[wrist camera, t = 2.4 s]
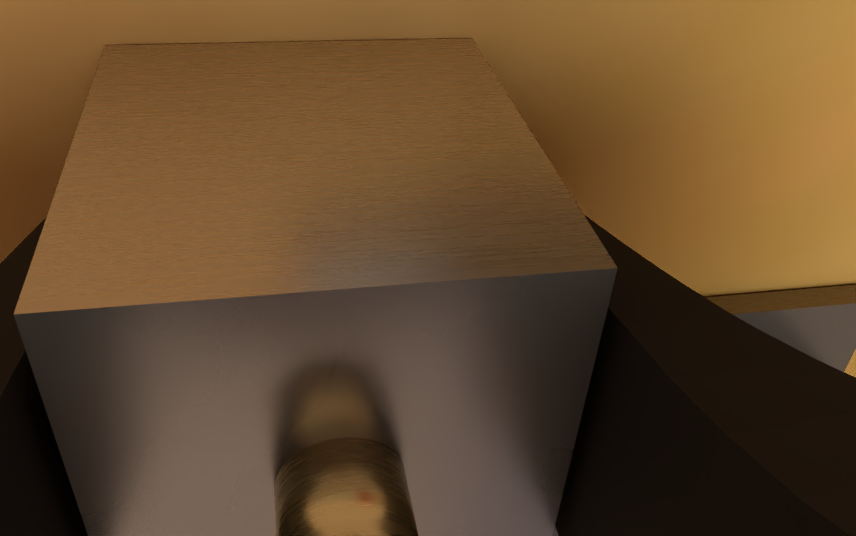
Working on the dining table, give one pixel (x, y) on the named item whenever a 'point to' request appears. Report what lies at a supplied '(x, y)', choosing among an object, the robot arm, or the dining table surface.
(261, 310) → the block
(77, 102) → the dining table surface
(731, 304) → the plate
